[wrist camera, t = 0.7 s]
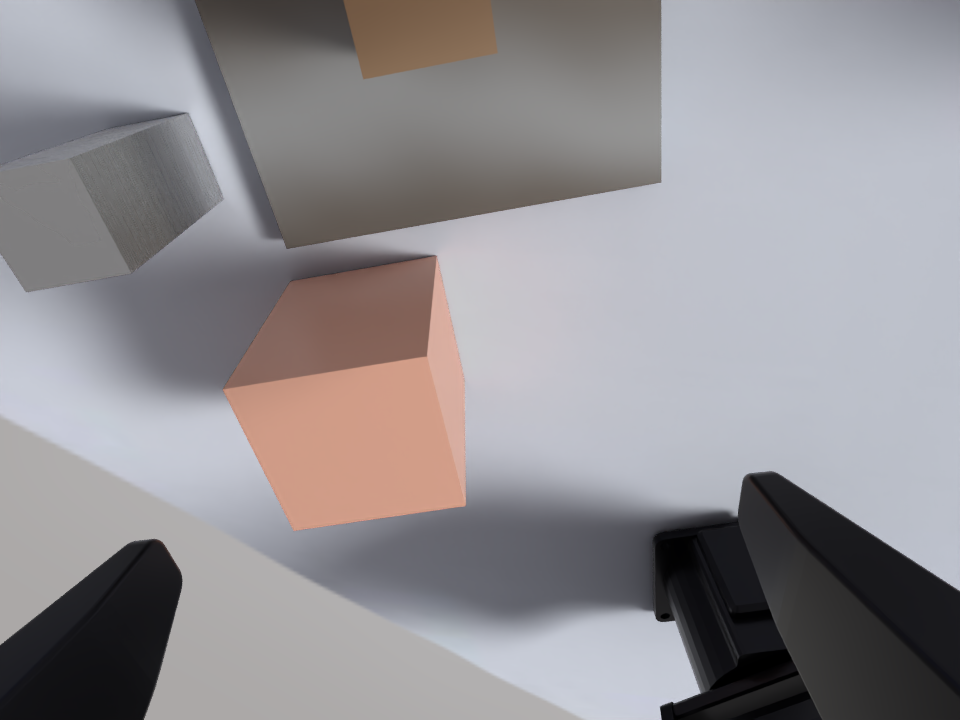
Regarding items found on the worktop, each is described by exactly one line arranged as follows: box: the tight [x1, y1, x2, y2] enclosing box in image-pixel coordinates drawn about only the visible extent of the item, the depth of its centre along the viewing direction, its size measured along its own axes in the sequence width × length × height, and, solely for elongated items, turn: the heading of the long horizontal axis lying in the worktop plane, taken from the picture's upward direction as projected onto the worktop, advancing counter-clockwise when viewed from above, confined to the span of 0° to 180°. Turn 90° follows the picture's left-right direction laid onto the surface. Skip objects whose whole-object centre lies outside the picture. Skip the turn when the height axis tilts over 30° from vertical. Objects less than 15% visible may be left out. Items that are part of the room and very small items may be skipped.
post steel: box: [0, 113, 224, 292], centre depth 15 cm, size 3×3×6 cm
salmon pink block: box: [223, 256, 466, 531], centre depth 18 cm, size 5×5×7 cm
